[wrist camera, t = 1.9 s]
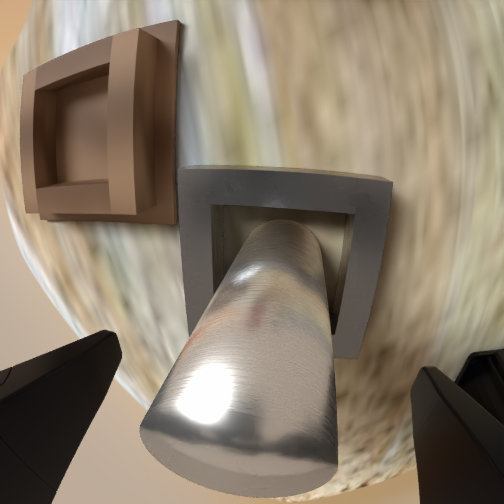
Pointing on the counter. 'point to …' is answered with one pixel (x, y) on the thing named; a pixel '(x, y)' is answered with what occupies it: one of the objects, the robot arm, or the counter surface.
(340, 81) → the counter surface
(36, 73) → the brown square tray
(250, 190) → the socket block
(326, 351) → the silver metal cylinder
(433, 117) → the counter surface
